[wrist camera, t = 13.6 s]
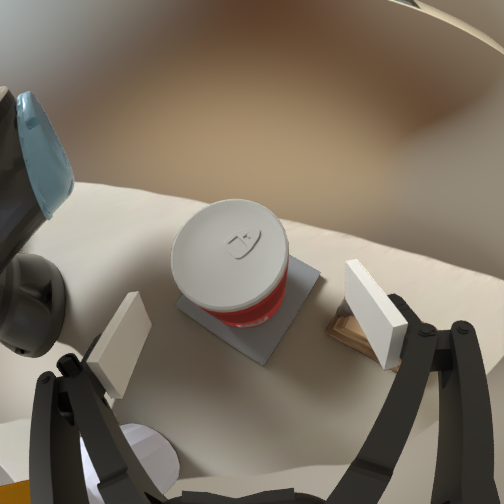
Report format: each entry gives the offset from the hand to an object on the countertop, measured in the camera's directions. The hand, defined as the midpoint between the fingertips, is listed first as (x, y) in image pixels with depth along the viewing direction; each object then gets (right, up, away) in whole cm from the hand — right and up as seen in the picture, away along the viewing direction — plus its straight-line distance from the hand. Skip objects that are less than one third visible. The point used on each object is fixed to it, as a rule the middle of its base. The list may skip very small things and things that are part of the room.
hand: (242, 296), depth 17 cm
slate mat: (0, -1, +12) cm, 12 cm away
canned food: (0, -1, +11) cm, 11 cm away
